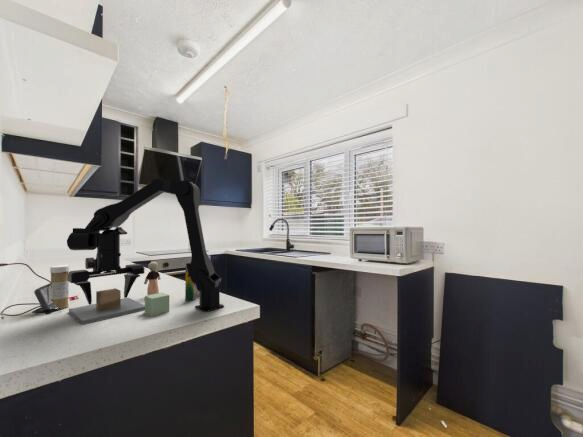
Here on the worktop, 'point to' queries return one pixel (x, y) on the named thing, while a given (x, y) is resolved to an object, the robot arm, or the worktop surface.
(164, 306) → the sage brick
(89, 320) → the baseplate
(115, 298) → the brown wooden cube
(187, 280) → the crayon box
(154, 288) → the grandmother figurine
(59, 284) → the sprinkles bottle
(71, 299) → the worktop surface
